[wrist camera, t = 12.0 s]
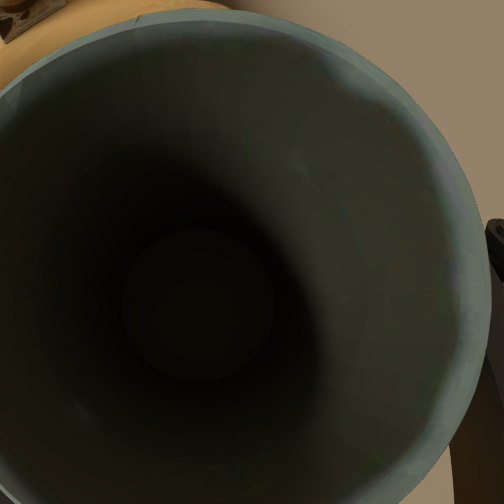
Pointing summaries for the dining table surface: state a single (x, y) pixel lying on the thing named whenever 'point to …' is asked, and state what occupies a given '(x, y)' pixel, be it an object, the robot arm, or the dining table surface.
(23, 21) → the coffee box
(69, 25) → the dining table surface
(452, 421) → the grey-green cup
